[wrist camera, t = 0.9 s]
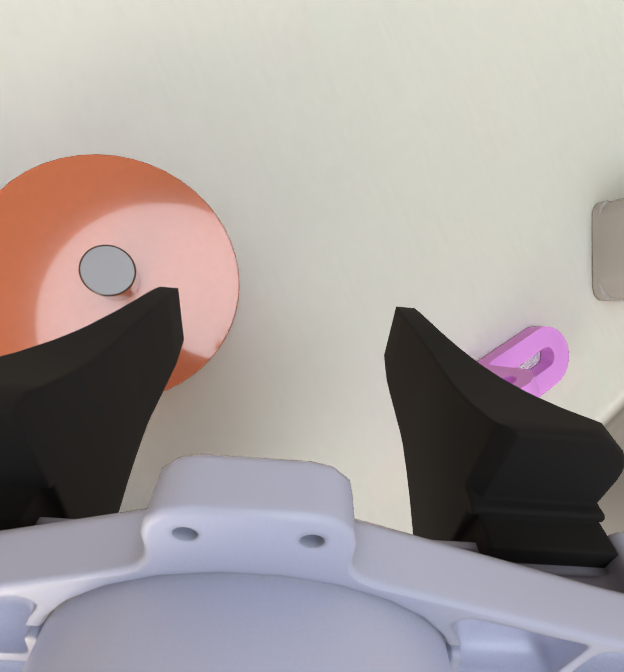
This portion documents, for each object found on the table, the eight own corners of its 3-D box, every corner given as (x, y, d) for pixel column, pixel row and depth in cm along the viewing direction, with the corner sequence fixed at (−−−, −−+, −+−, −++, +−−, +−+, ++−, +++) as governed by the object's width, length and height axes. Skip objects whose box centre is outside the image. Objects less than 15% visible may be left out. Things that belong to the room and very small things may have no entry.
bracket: (466, 438, 35) (535, 464, 29) (443, 384, 34) (509, 397, 28) (562, 367, 39) (641, 375, 33) (543, 316, 38) (622, 314, 32)
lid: (143, 442, 23) (139, 469, 19) (-94, 299, 20) (-169, 291, 15) (277, 268, 26) (300, 255, 22) (91, 110, 22) (73, 57, 18)
